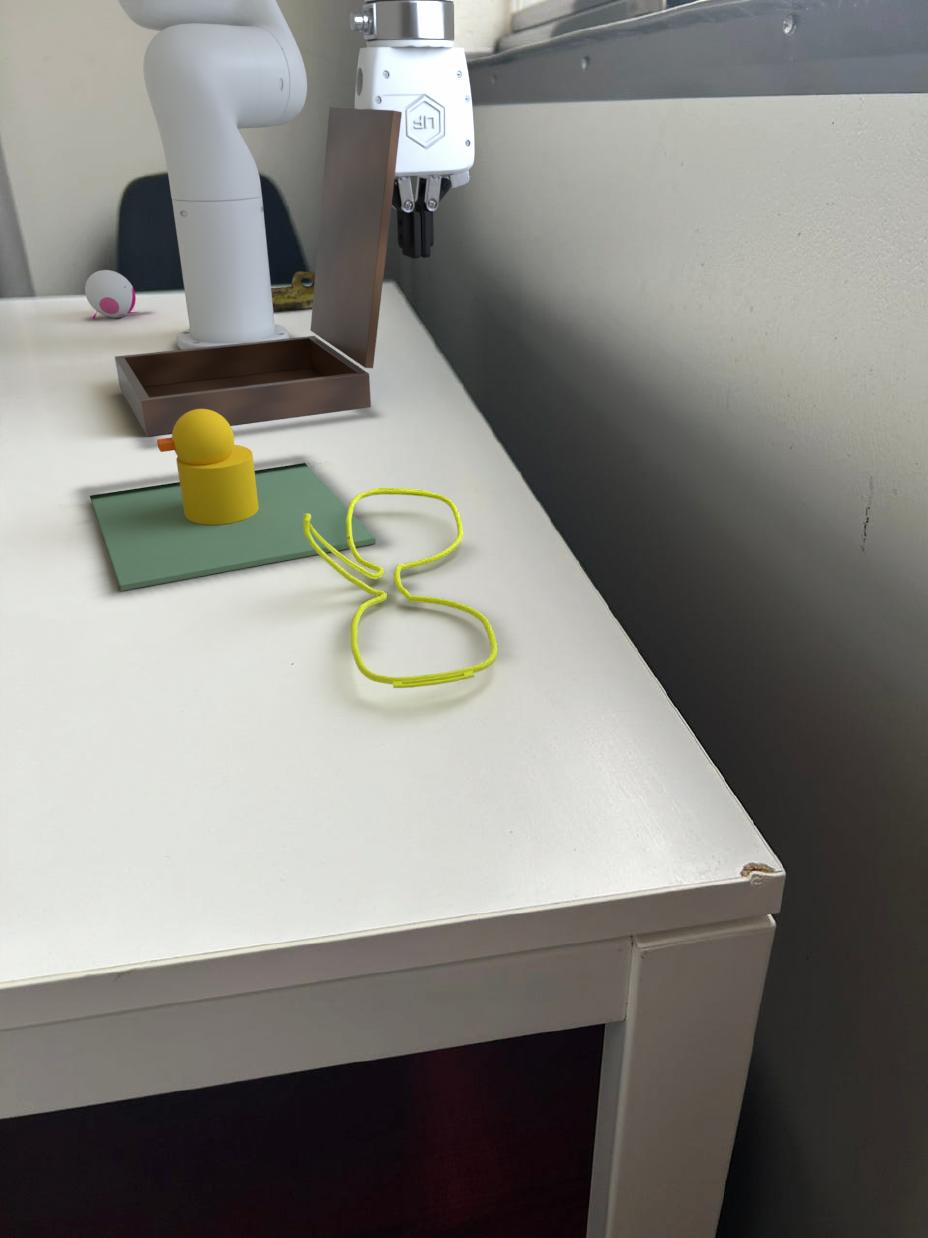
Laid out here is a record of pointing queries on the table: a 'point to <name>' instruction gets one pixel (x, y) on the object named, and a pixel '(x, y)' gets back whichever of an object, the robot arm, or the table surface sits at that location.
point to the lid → (354, 228)
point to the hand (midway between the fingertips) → (416, 255)
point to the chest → (241, 382)
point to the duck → (212, 469)
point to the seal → (294, 294)
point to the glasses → (399, 681)
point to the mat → (219, 529)
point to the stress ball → (110, 294)
